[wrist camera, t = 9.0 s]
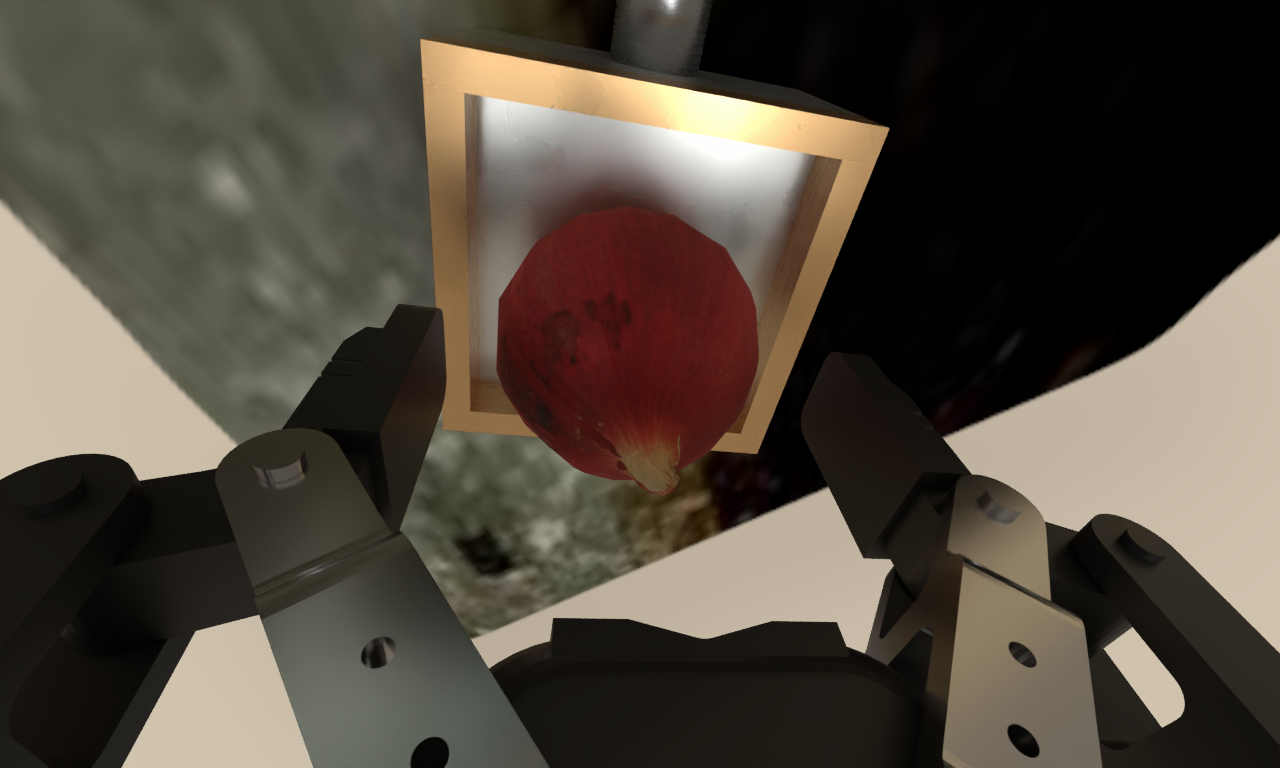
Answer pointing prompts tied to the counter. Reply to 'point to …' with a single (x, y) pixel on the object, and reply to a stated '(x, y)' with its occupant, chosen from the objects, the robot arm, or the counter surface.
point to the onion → (628, 344)
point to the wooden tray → (628, 181)
